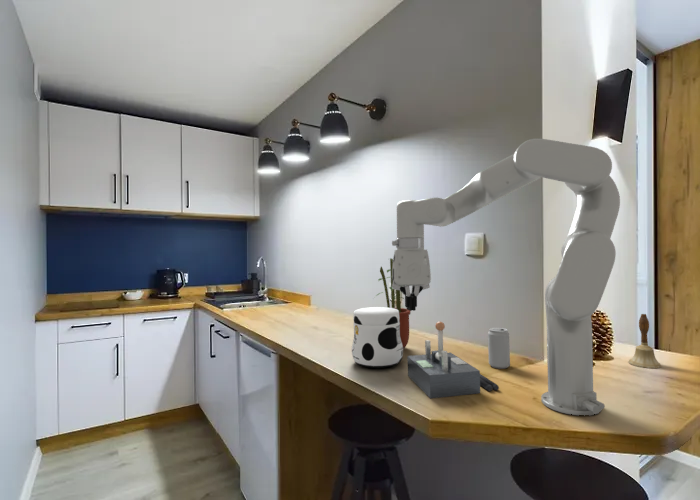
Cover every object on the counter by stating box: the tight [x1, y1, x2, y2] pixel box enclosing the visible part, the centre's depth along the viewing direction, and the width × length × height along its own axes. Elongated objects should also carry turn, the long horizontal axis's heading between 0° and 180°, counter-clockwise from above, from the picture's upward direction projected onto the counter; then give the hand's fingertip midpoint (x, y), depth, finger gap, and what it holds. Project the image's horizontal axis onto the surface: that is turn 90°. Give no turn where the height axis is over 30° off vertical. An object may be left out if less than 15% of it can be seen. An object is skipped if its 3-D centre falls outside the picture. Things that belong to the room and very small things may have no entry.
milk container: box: [351, 306, 404, 369], centre depth 130 cm, size 17×17×18 cm
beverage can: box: [487, 327, 511, 370], centre depth 123 cm, size 6×6×12 cm
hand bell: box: [628, 313, 662, 370], centre depth 121 cm, size 8×8×16 cm
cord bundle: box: [480, 373, 499, 392], centre depth 111 cm, size 18×3×2 cm, turn 10°
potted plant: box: [372, 257, 412, 350], centre depth 149 cm, size 17×16×35 cm
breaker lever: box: [434, 321, 446, 361], centre depth 109 cm, size 4×3×11 cm, turn 10°
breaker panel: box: [407, 339, 481, 399], centre depth 109 cm, size 18×14×11 cm
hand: (411, 309), depth 108 cm, fingers closed
